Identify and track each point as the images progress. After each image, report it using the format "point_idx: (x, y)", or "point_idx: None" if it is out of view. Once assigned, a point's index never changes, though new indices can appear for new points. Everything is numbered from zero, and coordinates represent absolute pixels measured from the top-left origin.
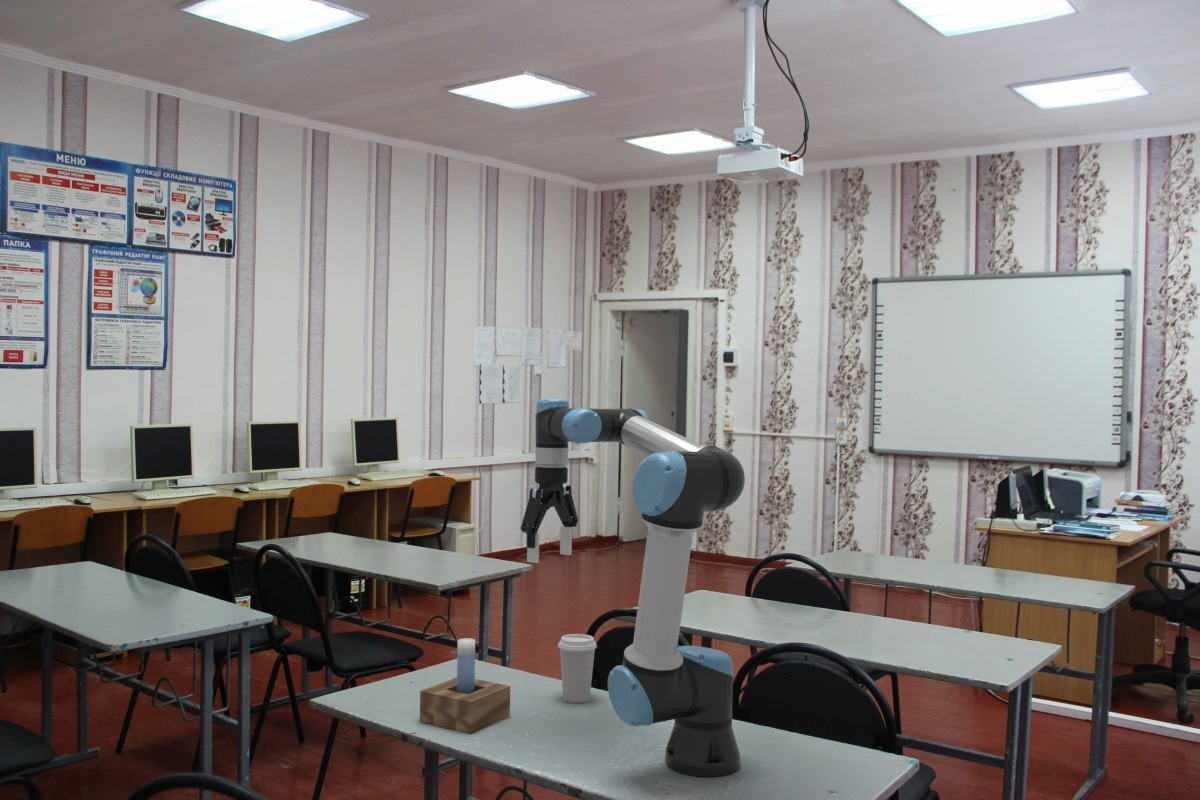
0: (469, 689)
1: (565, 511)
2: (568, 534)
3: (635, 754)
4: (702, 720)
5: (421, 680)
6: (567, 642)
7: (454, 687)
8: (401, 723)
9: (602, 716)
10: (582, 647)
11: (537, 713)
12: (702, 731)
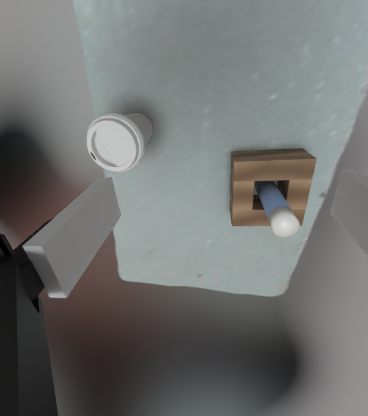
0: (276, 188)
1: (4, 383)
2: (70, 229)
3: None
4: None
5: (191, 272)
6: (137, 147)
7: None
8: None
9: (167, 58)
10: (128, 122)
11: (205, 133)
12: None
